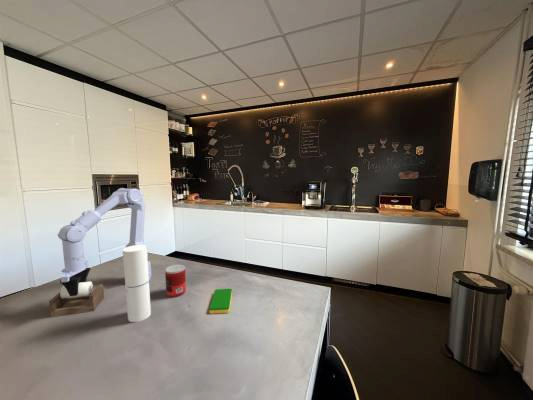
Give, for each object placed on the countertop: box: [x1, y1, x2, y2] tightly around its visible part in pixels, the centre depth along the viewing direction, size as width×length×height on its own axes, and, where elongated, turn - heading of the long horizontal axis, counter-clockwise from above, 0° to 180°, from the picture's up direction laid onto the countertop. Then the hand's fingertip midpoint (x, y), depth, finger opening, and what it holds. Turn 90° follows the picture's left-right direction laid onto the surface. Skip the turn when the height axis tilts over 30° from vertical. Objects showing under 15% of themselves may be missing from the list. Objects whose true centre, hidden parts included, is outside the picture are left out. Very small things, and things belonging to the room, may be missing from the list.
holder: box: [48, 283, 105, 318], centre depth 84 cm, size 13×9×6 cm
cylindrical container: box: [122, 244, 152, 323], centre depth 78 cm, size 7×7×25 cm
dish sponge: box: [209, 288, 233, 315], centre depth 87 cm, size 7×14×2 cm, turn 5°
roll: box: [60, 281, 94, 299], centre depth 84 cm, size 8×5×5 cm, turn 106°
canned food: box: [164, 264, 187, 298], centre depth 94 cm, size 8×8×11 cm
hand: (77, 291), depth 84 cm, fingers closed on roll, 5 cm apart
